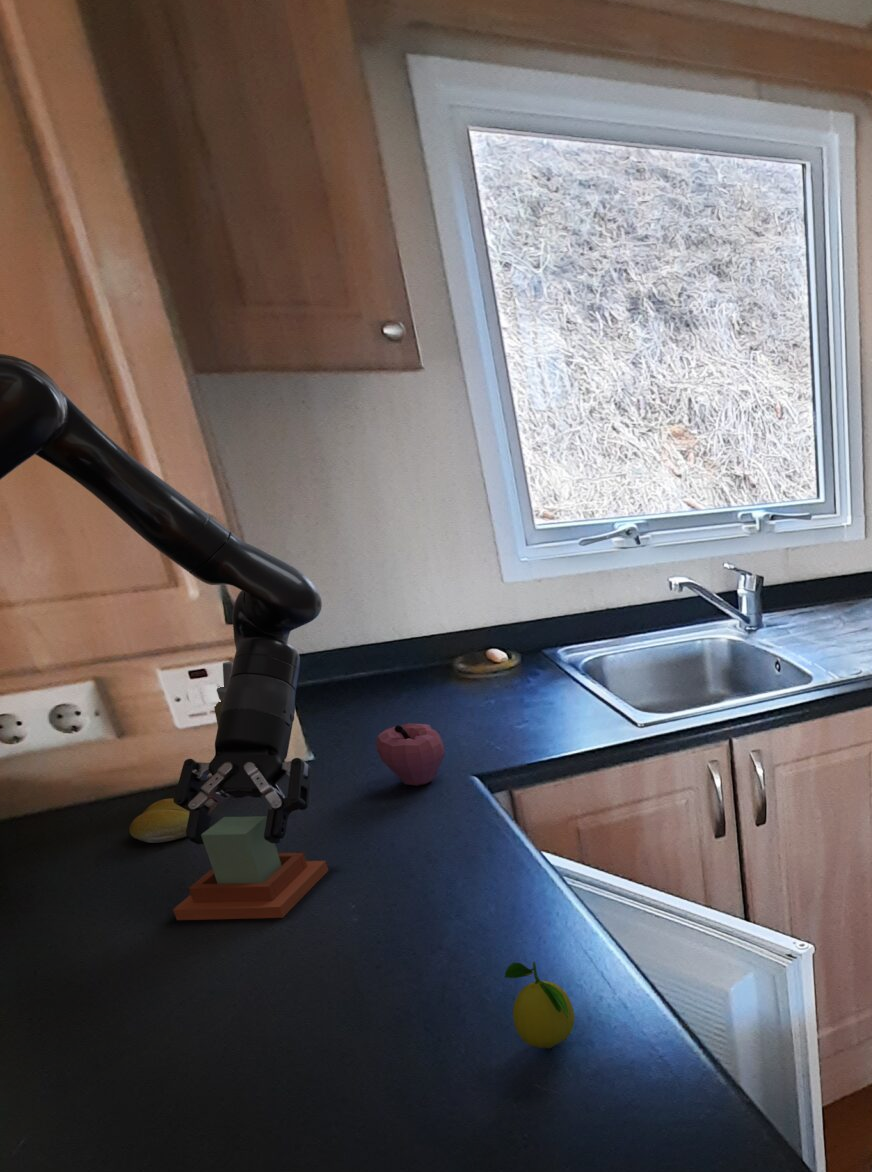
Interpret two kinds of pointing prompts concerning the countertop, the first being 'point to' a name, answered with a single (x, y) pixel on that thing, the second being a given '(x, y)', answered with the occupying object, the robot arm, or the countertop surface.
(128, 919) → the countertop surface
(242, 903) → the base pad
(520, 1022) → the lemon
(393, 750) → the apple
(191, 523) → the robot arm
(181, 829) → the bread roll
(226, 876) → the sage pad block
